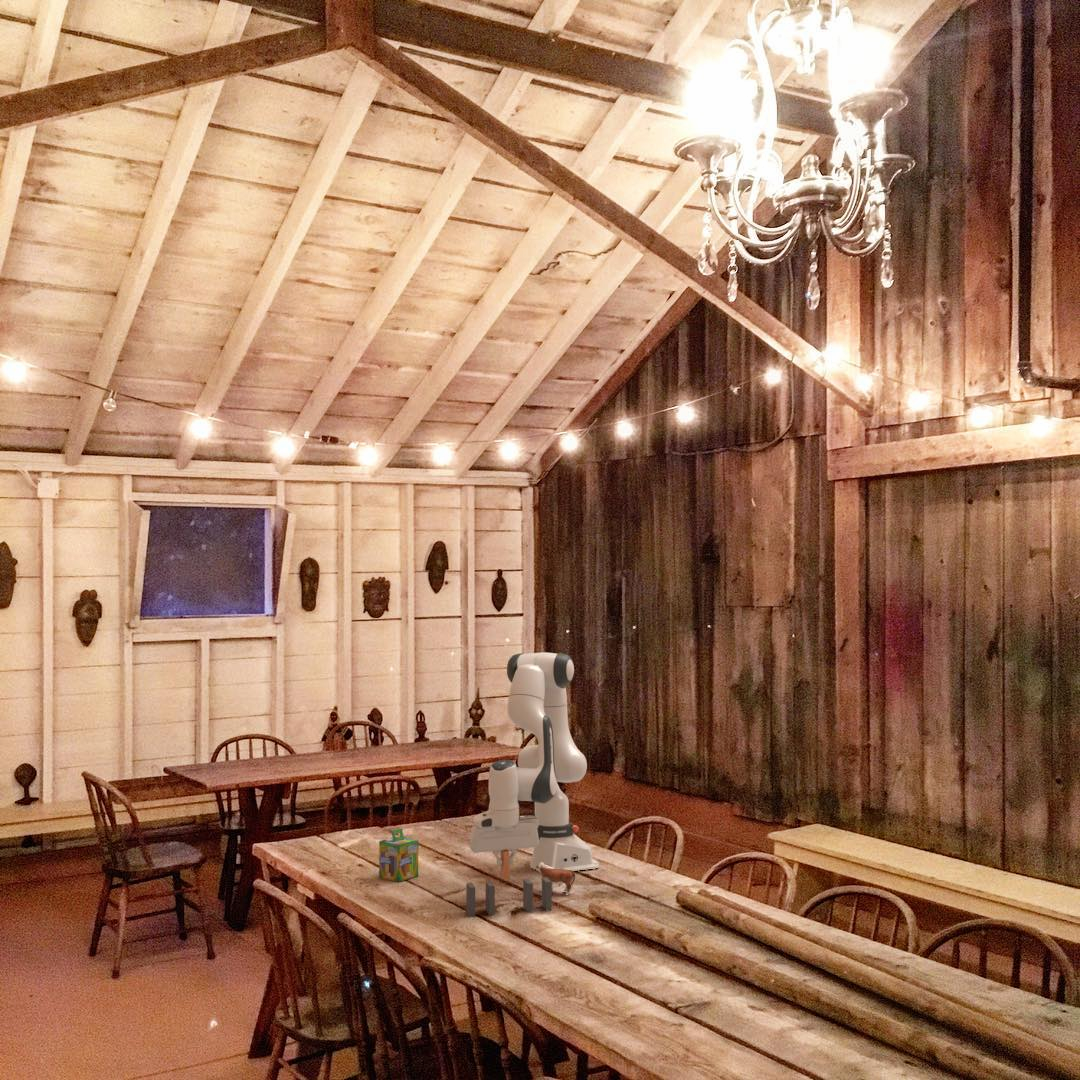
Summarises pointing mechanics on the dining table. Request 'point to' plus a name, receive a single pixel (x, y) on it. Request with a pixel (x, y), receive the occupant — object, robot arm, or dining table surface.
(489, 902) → the domino
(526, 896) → the domino
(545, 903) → the domino
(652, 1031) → the dining table surface
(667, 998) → the dining table surface
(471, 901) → the domino
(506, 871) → the domino
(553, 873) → the bull figurine
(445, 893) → the dining table surface
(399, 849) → the chalk box
